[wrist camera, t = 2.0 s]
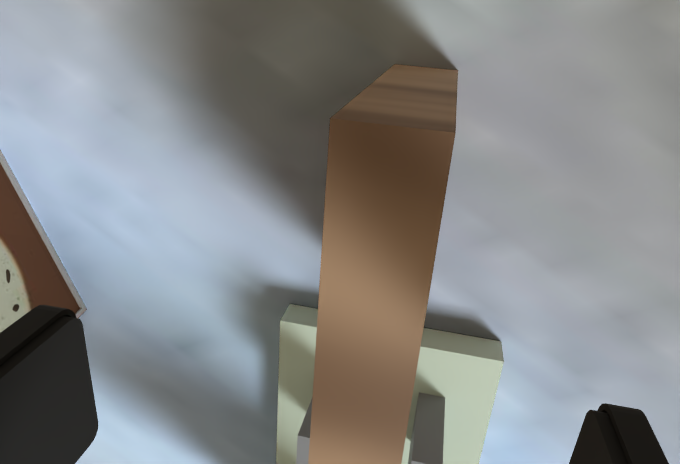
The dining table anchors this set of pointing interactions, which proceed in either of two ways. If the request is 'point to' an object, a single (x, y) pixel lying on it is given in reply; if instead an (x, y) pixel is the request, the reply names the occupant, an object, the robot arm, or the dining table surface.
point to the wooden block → (378, 260)
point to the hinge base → (427, 400)
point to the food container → (28, 258)
